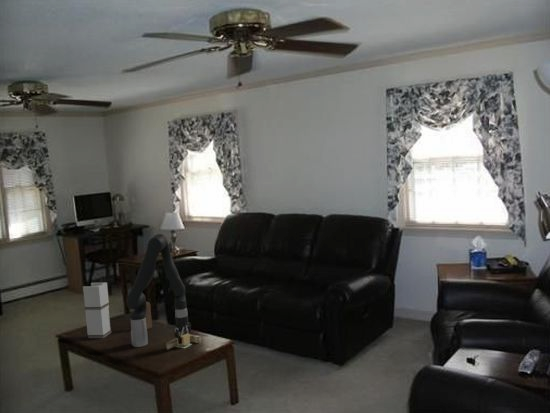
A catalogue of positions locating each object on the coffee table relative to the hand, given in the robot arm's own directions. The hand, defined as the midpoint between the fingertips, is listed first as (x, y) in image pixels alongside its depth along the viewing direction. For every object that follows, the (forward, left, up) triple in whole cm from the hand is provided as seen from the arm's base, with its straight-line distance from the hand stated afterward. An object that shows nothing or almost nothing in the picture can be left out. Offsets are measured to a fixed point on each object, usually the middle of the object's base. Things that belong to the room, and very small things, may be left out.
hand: (183, 341), depth 303 cm
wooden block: (-48, +15, -3) cm, 50 cm away
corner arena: (+1, 0, -2) cm, 3 cm away
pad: (0, 0, -2) cm, 2 cm away
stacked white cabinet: (-69, -6, -3) cm, 69 cm away
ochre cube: (0, 0, -1) cm, 1 cm away
